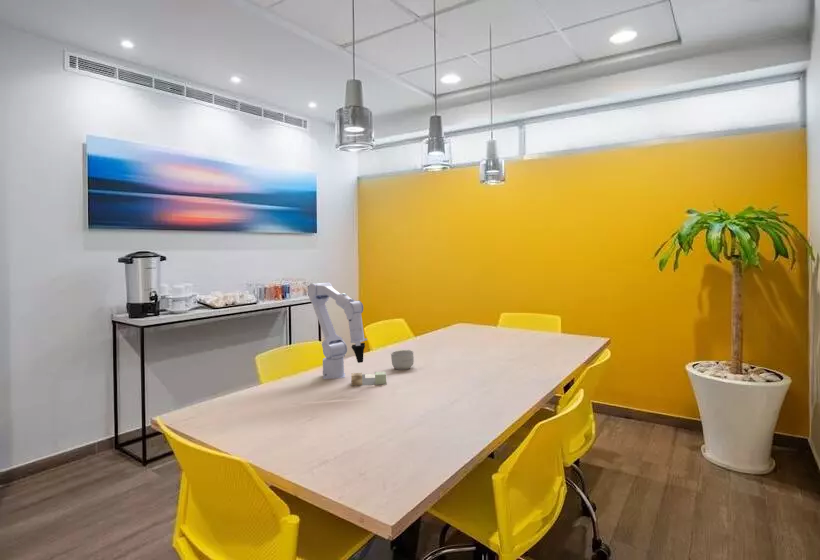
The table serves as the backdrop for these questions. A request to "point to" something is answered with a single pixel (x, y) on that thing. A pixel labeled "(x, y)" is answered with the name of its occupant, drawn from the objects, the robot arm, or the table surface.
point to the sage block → (380, 377)
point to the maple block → (356, 378)
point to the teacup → (402, 359)
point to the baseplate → (367, 380)
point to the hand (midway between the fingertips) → (360, 361)
